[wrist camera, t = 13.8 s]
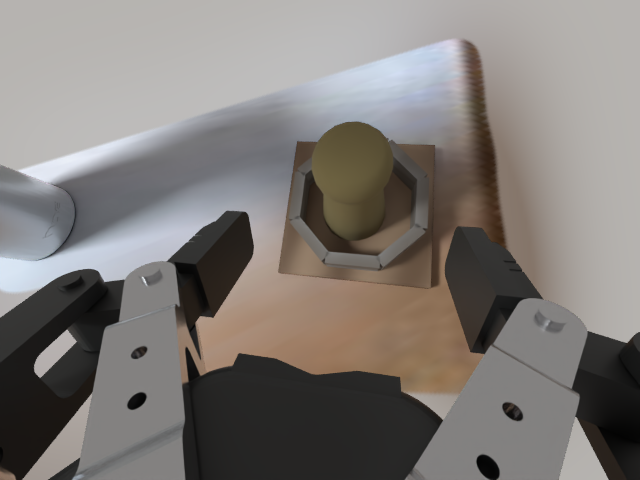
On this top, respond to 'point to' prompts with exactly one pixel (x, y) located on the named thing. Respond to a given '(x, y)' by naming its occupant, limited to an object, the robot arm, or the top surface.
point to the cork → (353, 178)
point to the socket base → (379, 249)
